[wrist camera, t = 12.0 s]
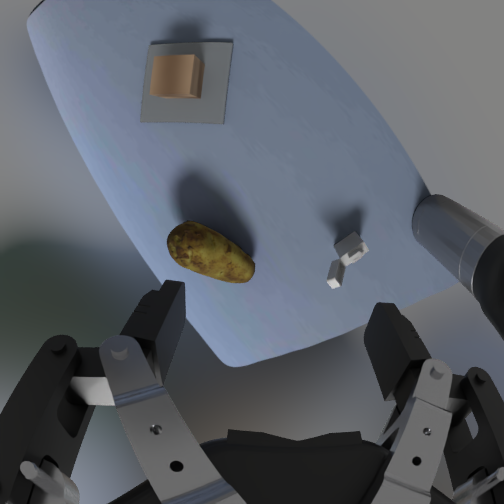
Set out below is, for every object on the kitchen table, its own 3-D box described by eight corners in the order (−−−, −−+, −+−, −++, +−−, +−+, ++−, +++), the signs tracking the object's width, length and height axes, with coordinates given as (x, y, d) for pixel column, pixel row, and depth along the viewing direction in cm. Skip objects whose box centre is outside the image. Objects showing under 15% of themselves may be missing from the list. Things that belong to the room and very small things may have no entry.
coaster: (233, 44, 31) (232, 42, 30) (223, 124, 36) (223, 124, 35) (151, 46, 31) (149, 45, 30) (142, 122, 36) (140, 122, 35)
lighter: (355, 230, 41) (372, 252, 34) (360, 239, 42) (377, 262, 35) (317, 256, 43) (327, 283, 36) (323, 264, 44) (333, 291, 37)
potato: (219, 288, 46) (211, 318, 39) (169, 226, 42) (151, 248, 35) (261, 264, 44) (261, 292, 37) (212, 196, 40) (200, 212, 33)
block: (204, 64, 31) (194, 54, 26) (200, 98, 33) (189, 93, 28) (169, 65, 31) (154, 56, 26) (165, 98, 33) (149, 94, 28)
